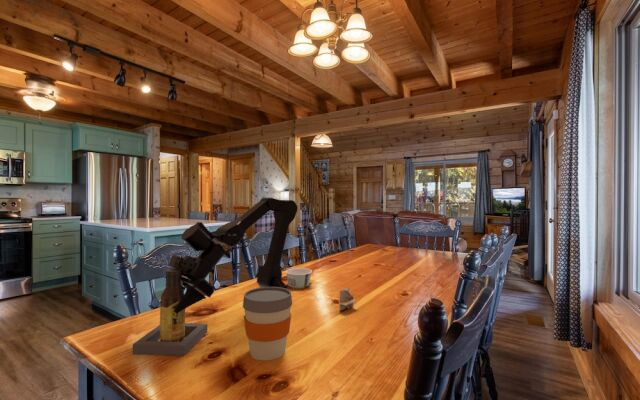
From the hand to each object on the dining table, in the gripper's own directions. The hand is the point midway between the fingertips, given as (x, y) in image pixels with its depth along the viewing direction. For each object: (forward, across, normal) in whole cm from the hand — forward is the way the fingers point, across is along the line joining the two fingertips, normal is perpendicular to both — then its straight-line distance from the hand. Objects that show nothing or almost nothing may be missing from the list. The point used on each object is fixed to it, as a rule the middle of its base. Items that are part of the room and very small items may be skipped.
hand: (167, 308), depth 84 cm
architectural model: (-31, +19, +46) cm, 58 cm away
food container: (-37, -15, +51) cm, 65 cm away
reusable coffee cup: (-4, +23, +18) cm, 30 cm away
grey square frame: (+6, 0, +8) cm, 10 cm away
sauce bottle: (+6, 0, +8) cm, 10 cm away
